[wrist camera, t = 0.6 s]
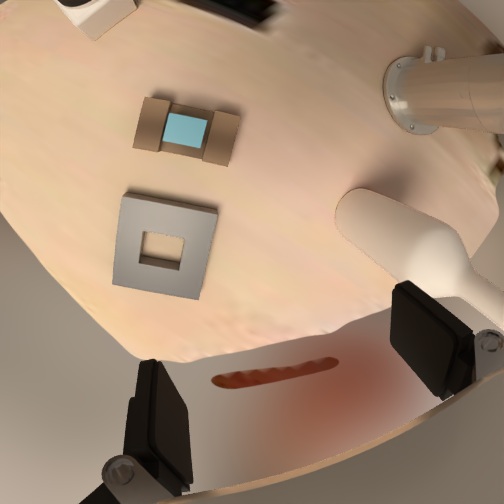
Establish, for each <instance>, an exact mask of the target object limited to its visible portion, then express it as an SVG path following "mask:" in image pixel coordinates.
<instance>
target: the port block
mask: <svg viewBox="0 0 504 504" xmlns="http://www.w3.org/2000/svg"><path fill="white" fill-rule="evenodd" d="M217 218H218V212H217V210H215V209H210V208H205V207H200V206H195V205H190V204H185V203H180V202H175V201H170V200H165V199H160V198H154V197H149V196H144V195H138V194H133V193H128V192H126V193H125V194H124V195H123V196H122V199H121V206H120V213H119V220H118V228H117V236H116V246H115V256H114V267H113V280H112V284H113V285H118V286H123V287H128V288H133V289H138V290H144V291H149V292H154V293H160V294H165V295H171V296H177V297H183V298H188V299H194V300H199V296H200V292H201V287H202V283H203V278H204V274H205V269H206V265H207V260H208V256H209V251H210V247H211V243H212V239H213V234H214V230H215V226H216V222H217ZM145 231H146V232H151V233H157V234H162V235H167V236H172V237H178V238H183V239H185V240H184V245H183V250H182V255H181V260H180V263H177V262H172V261H166V260H161V259H156V258H150V257H145V256H141V255H142V248H143V241H144V235H145Z"/></svg>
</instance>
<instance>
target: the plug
mask: <svg viewBox="0 0 504 504" xmlns="http://www.w3.org/2000/svg"><path fill="white" fill-rule="evenodd" d="M206 124H207V120H203V119H198V118H194V117H189V116H184V115H179V114H173V113H169V117H168V120H167V124H166V128H165V132H164V137H163V141H166V142H172V143H177V144H182V145H187V146H192V147H196V148H200V147H201V143H202V139H203V135H204V131H205V128H206Z"/></svg>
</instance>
